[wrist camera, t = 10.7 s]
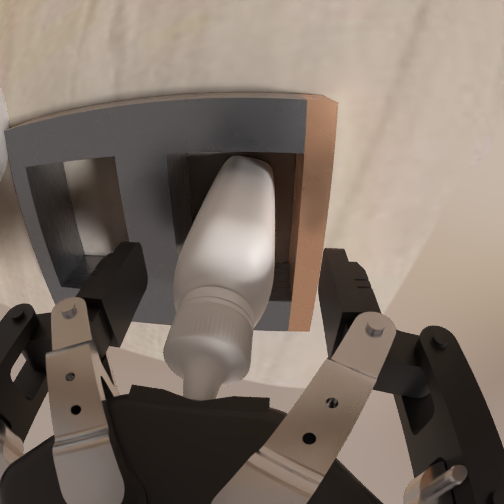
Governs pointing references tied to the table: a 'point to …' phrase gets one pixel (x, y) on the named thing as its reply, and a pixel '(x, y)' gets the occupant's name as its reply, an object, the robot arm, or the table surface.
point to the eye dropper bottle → (223, 279)
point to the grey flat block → (175, 185)
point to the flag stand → (0, 125)
